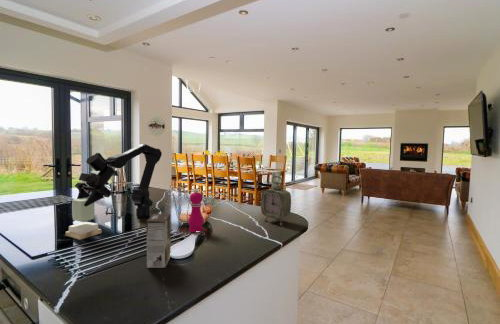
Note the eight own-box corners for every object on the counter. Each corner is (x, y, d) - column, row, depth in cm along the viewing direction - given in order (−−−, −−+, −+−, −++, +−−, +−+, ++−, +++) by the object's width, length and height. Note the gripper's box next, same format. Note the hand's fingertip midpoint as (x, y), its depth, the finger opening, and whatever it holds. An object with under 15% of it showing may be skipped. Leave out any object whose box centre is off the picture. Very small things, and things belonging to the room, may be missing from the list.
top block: (85, 226, 128) (85, 221, 128) (98, 229, 126) (98, 223, 126) (68, 231, 121) (68, 226, 121) (82, 234, 118) (82, 228, 118)
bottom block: (87, 231, 130) (87, 225, 130) (101, 234, 126) (101, 229, 126) (65, 237, 121) (65, 231, 121) (79, 241, 117) (79, 235, 117)
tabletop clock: (260, 221, 150) (261, 175, 148) (270, 218, 156) (272, 174, 154) (282, 227, 140) (283, 178, 138) (292, 223, 146) (293, 176, 145)
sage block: (86, 216, 127) (85, 197, 126) (94, 218, 124) (94, 198, 124) (72, 219, 122) (72, 199, 121) (81, 221, 119) (80, 201, 118)
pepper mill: (206, 229, 134) (206, 188, 132) (198, 234, 127) (199, 191, 125) (193, 227, 136) (193, 187, 134) (185, 232, 129) (185, 189, 128)
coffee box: (153, 256, 101) (153, 213, 100) (171, 256, 102) (171, 213, 101) (146, 268, 92) (145, 220, 91) (165, 267, 93) (165, 220, 91)
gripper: (78, 165, 129) (53, 192, 120) (104, 167, 121) (80, 196, 112) (94, 180, 137) (72, 206, 128) (120, 183, 128) (98, 211, 119)
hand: (80, 205), depth 121 cm, fingers closed on sage block, 6 cm apart
